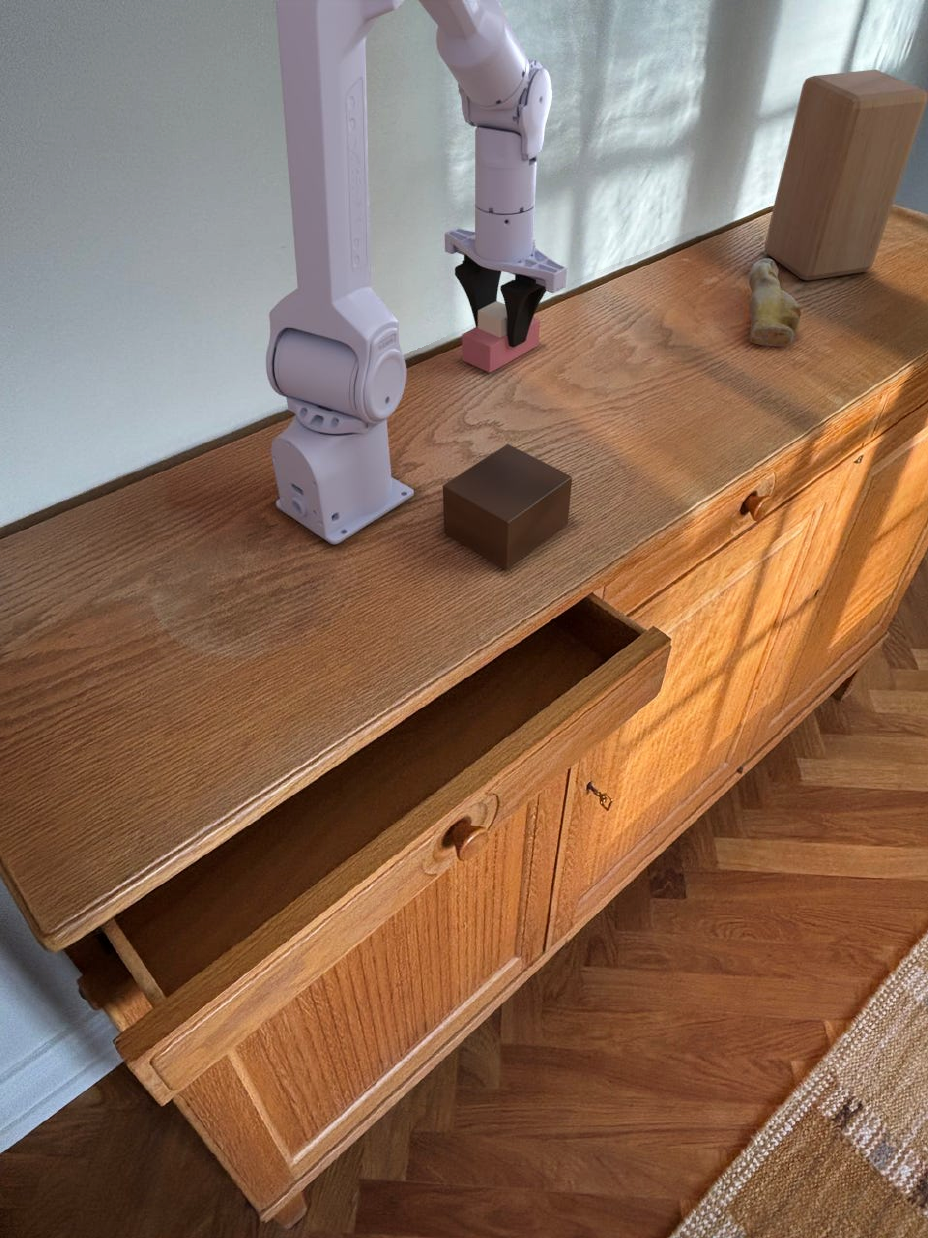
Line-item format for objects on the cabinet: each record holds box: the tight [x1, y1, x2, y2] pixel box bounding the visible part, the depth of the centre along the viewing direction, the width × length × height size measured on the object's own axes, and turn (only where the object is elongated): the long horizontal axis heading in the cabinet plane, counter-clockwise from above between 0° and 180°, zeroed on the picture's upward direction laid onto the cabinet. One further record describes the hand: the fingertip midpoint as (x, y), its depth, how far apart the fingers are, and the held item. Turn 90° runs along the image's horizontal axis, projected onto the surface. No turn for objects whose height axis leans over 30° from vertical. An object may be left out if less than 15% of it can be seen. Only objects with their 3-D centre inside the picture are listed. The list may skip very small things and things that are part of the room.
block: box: [764, 69, 928, 281], centre depth 102 cm, size 10×10×20 cm
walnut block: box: [442, 443, 573, 571], centre depth 72 cm, size 8×7×5 cm
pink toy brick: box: [461, 300, 541, 374], centre depth 92 cm, size 8×4×5 cm, turn 137°
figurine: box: [748, 257, 802, 347], centre depth 98 cm, size 5×5×15 cm
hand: (501, 336), depth 92 cm, fingers closed on pink toy brick, 4 cm apart
